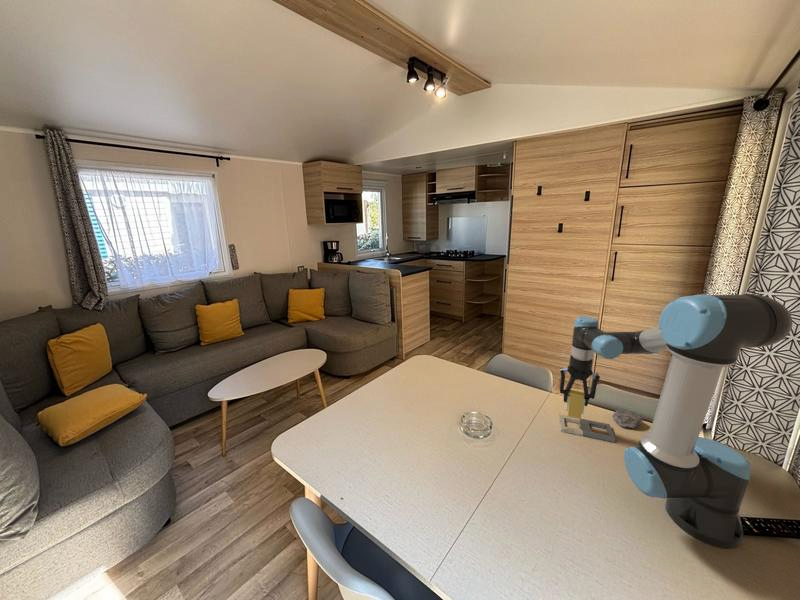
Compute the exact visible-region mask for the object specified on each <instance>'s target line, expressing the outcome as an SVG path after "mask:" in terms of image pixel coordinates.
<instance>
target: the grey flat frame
mask: <svg viewBox="0 0 800 600" xmlns="http://www.w3.org/2000/svg"><path fill="white" fill-rule="evenodd" d="M558 415H559V416H558V419H559V426H560V432H563V433H566V434H567V433H568V434H573V435H577V436H582V437H587V438H592V439H595V440H601V441H605V442H610V443H616V438H615V436H614V432H613V429H612V427H611V425H610V423H606V422H599V421H595V420H590V419H585V418H581V419H579V418H574V417H569V416H568V415H564V414H558ZM564 420H565V421H564ZM569 421H570V422H569ZM565 422H569V423H573V424H579V426H580V428H575V427H568V426H566V424H565ZM591 427H594V428H599V429H605V431H606V433H607V434H603V433H599V432H593V431H592V430H591Z"/></svg>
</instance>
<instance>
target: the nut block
mask: <svg viewBox="0 0 800 600" xmlns="http://www.w3.org/2000/svg"><path fill="white" fill-rule="evenodd" d="M569 394H570V401H569V408H568V411H566V412H567V413H566V414H567V416H569V417H574V418H579V419H582V415H583V414H582V407H583V400H584V396H585V395H584V389H578V388H571V390H570V392H569Z"/></svg>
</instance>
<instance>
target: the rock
mask: <svg viewBox="0 0 800 600" xmlns="http://www.w3.org/2000/svg"><path fill="white" fill-rule="evenodd" d="M612 418H614V419H613V421H614V422H615V421H616V422H615V423H616V424H618V426H619V427H623V428H629V429H630V428H631V429H633V430H634V429H636V428H637V427H639V426H640V425H639V424H641V423H642V422H643V418H642V417H641V416H639V415H638V414H636V413H635V412H633V411H631V410H624V409H617V410H615V412H614V413H612Z"/></svg>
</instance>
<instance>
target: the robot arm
mask: <svg viewBox="0 0 800 600" xmlns="http://www.w3.org/2000/svg"><path fill="white" fill-rule="evenodd" d="M792 328H793V317H792V314H791V313H790V311H789V309H787V308H786V306H784V304H782V303H781V302H779V301H778V300H776V299H773V298H771V297H769V296H765V295H760V294H751V293H750V294H748V293H747V294H745V293H744V294H705V293H704V294H701V293H699V294H694V295H686V296H681V297H677V298H675V299H674V300H672V301H670V302H669V303H668V304H667V305H666V306H665V307H664V308H663V310H662V311H661V314H660V315H659V320H658V326H657V327H656V326H655V327H651V328H647V329H641V330H637V331H604V330H603V329H601V328H599V319H597V318H595V317H592V316H583V315H582V316H578V317H576V318H575V321H574V325H573V331H572V332H573V333H572V341H571V349H570V357H569V364H568V366H567V367H566V368H563V367H561V368H559V371H560V381H559V393H560V394H563V402H564V403H565V411H566V412H567V411H568V408H569V401H570V394H569V392H570V390H571V388H572V387H573V385H574V383H575V382H576V380H577V381H578V380H579V381H582V387H583V394H584V400H583V407H582V414H581V415H584V412H585V407H588V405H589V401H590V400H591V399H594V400H595V398H596V392H597V386H598V381H599V380H600V379H601V377H600V374H599V373H598V372H593V363H594V362H593V361H594V360H593V359H594V355H595V354H597V356H600V357H601V358H604V359H606V360H614V359H615V358H616V359H617V358H619V356H621V355H633V354H634V355H639V354H640V355H643V354H644V355H652V354H653V355H654V354H658V353H661V352H666V351H669V352H670V353H671V354H672V355H671V359H670V361H669V365H668V368H667V372H666V375H665V379H664V382H663V386H662V389H661V393H660V397H659V399H658V404H657V406H656V407H657V408H656V410H655V413H654V417H653V421H652V424H651V428H650V430H649V432H648V431H647V432H645V433H643V434H642V435H641V436H640V439H639V441H638V445H637V446H630V447H627V448H625V450H624V453H623V461H624V466H625V469H626V471H627V472H626V473H628V476H629V478H630V480H631V482H632V483H633V484H634V485H635V487H636V488H637V489H638V490H639V491H640V492H641V493H642V494H643V495H646V497H650V498H659V499H664V500H665V499H666V501H665V504H664V506H665V510H666V513H667V515H668V516H669V517H670V518H671V520H672V521H673V522H674V523H675V524H676V525H677V526H679V528H681V529H682V530H683V531H684V532H686V533H688V535H690V536H692V537H694V538H695V539H697V540H699V541H701V542H703V543H706V544H708V545H711V546H713V547H716V548H722V549H735V548H738V547H739V546H740V545H741V544H742V540H743V536H744V531H743V525H742V520H741V517H740V509H741V506H742V503H743V500H744V497H745V494H746V490H747V487H748V485H749V481H750V480H751V471H752V467H751V463H750V462H749V461H748V459H746V457H745V456H743V455H742V454H741V453H740V452H738V451H737V450H735V449H733V448H732V447H730V446H728V445H726V444H724V443H722V442H719V441H718V440H717V441H716V440H714V439H710V438H707V437H703V436H702V437H701V436H700V433H701V431H702V429H703V426H704V422H705V419H706V417H707V414H708V411H709V408H710V405H711V402H712V399H713V397H714V394H715V391H716V388H717V385H718V382H719V380H720V377H721V373H722V371H723V368H726V367H729V366H733V365H735V364H736V362H737V359H738V357H739V354H740V351H741V349H743V348H744V349H746V348H747V349H749V348H762V347H764V348H765V347H769V346H771V345H772V346H773V345H775V344H777V343H779V342H781V341H783V340H784V339H786V337H788V335H789V333H790V332H791V331H792ZM567 373H568V374H569V375H570V377H569V379H568V383H567V384H566V387H565V382H566V381H565V380H566V375H567ZM590 377H591V378H592V381H591V385H590V391H589V389H588V382H587V379H588V378H590ZM572 389H573V388H572Z"/></svg>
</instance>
